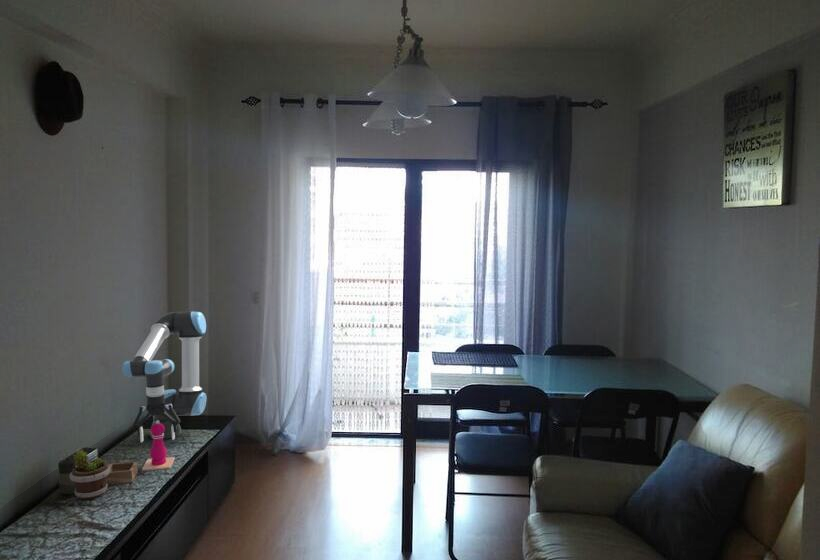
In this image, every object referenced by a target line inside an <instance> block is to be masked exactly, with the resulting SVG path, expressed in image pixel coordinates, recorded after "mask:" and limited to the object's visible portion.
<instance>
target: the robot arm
mask: <svg viewBox="0 0 820 560" xmlns="http://www.w3.org/2000/svg"><path fill="white" fill-rule="evenodd" d="M206 321H207V320H206V318H205V316H204V314H203V313H202V312H201V311H194V310H193V311H172V312H171V311H169V312H168V313H166V314H164V315H162V316H160V317H159V318H158V319H157V320H155V321H154V323H153V324H152V326H151V327H150V332H149V333H148V336H147V337H146V339H145V340H144V342H143V343H142V345H141V346H140V348H139V349H138V351H137V352H136V354H135V356H134V357H133V359H132V360H126V361H124V362H123V364H122V366H121V369H122V370H121V371H122V375H123V376H124V377H126V378H145V394H146V406H144V405H141V406H140V407H139V410H138V414H137V416H136V418H135V420H134V422H133V424H132V428H136V429H137V435H138V436H139V439H140V443H143V442H144V428H143V427H144V426H143V424H144V423H145V422H146V420H147V419H148V418H149V417H150V416H152V420H153V421H152V425H154V424H156V423H155V422H156V421H157V420H158V421H159V423H161V424H163V425H164V427H165V430H164V432H163V433H164V437H163V440H167V439H171V440H172V441H174V440H175V439H176V437H178V436H180V435H181V434H182V428H181V425H180V423H181V418H179V416H180V417H181V416H192V417H193V416H200V415H201V414H203V412H204V411H205V408H206V405H207V393H205V392H204V391H203V387H201V386H200V340H201V339H203V335H204V334H205V333H206V331H207V330H206V329H207V323H206ZM170 335H178V339H179V340H180V341H181V387H180V388H179V389H178V392H177V390H176V389H165V383H164V382H165V381H164V380H165V379H164V378H166V377H168V376H170V375H172V373H173V372H174V370H175V363H174V362H173V360H171V359H168V358H164V359H161V360H159V359H154V358H155V355H156V353H157V352H158V350H160V347H161V346H162V344H163V342H164V341H165V340H166V339H167V338H169V336H170ZM153 359H154V360H153ZM145 410H146V411H147V413H146V414H145V416H144V417H143V418H142V420H141V421H140V422H139V420H140V418H141V416H142V414H143V413H144V411H145ZM149 435H150V438H151V439H153V438H152V433H151V431H150V434H149Z"/></svg>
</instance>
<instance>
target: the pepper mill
mask: <svg viewBox="0 0 820 560" xmlns="http://www.w3.org/2000/svg"><path fill="white" fill-rule="evenodd" d="M155 423H156V424H154V425H153V424H152V425H151V427H150V432H151V433H152V438H151V439H152V440H153V441H152V447H151V449H150V454H149V457H150V459H152V460H151V462H152V465H162V464H164V463H166V458H167V457H166V456H167V455H168V451H167V448H166V446H165V444H164V439H163V437H164V433H163V432H164V430H165V427H164V425H163V424H161V423H159V421H158V420H157V421H156V422H155Z"/></svg>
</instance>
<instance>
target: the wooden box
mask: <svg viewBox="0 0 820 560" xmlns="http://www.w3.org/2000/svg"><path fill="white" fill-rule="evenodd" d="M108 465H109V466H110V468H111V469H110V473H109V474H108V477H107V482H106V483H107V484H108V485H116V484H117V485H118V484H126V483H127V484H128V483H133V482H134V480H135V478H136V476H137V475H138V471H139V469H138V461H129V462H127V461H126V462H125V461H124V462H116V463H114V462H113V463H110V464H108Z"/></svg>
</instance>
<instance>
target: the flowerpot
mask: <svg viewBox="0 0 820 560" xmlns="http://www.w3.org/2000/svg"><path fill="white" fill-rule="evenodd" d="M89 457H90V456H89V455H88V452H87V451H84V450H81V449H80V448H78V449H76V451H75V454H74V455H73V457H72V458H73V459H72V462H74V463H73V466H75V467H76V466H77V467H76V468H75V467H74V468H72V471H71V472H70V473H69V477H68V479H70V481H71V482H72V483H73V486H74V488H75V489H74V495H75V496H76V497H77V498H78V499H79V498H80V500H82V499H87V500H93V499H94V498H95V497H97V498H99V496H100V497H101V495H102V496H103V495H105V492H106V491H108V490H107V489H108V486H109V484H107V483H106V482H107V477H108V474H109V473H110V469H111V468H110V466H109V465H110V464H108V463H107V462H106V461H103V459H102V458H101V457H98V456H94V458H93V459H92V460H91V461H89ZM92 498H93V499H92ZM95 499H96V498H95Z"/></svg>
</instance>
